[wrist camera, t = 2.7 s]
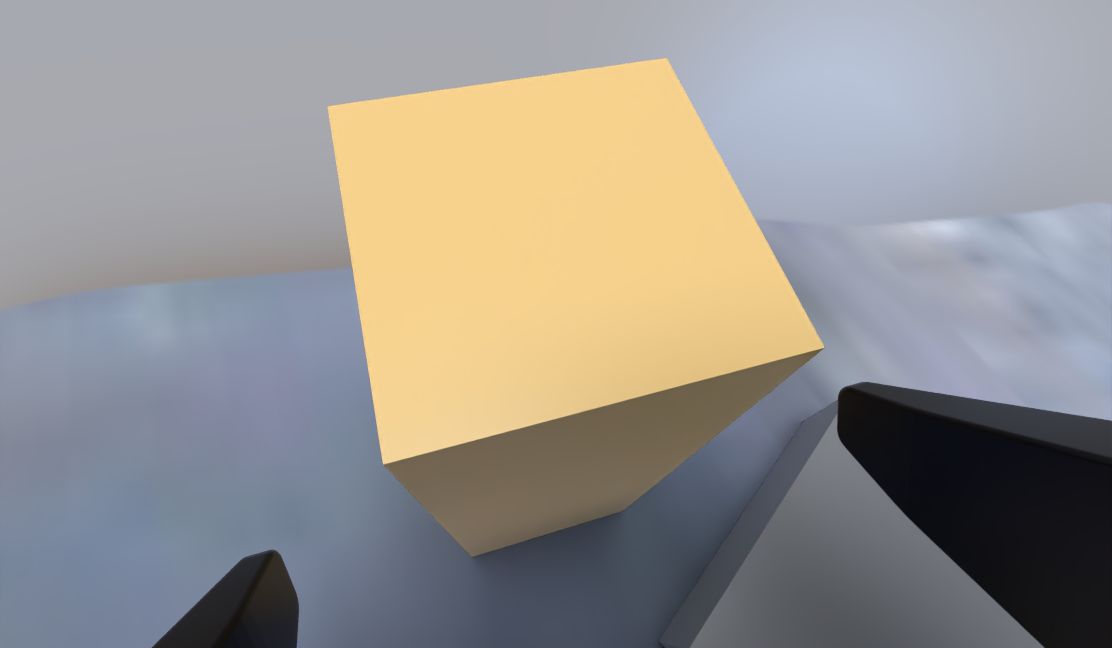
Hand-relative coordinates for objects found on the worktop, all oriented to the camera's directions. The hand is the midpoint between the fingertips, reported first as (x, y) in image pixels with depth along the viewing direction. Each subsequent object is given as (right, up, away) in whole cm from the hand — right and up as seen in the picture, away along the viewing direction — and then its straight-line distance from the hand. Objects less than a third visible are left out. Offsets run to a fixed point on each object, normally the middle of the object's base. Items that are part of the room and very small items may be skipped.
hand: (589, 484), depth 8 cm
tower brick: (-1, -2, +10) cm, 10 cm away
